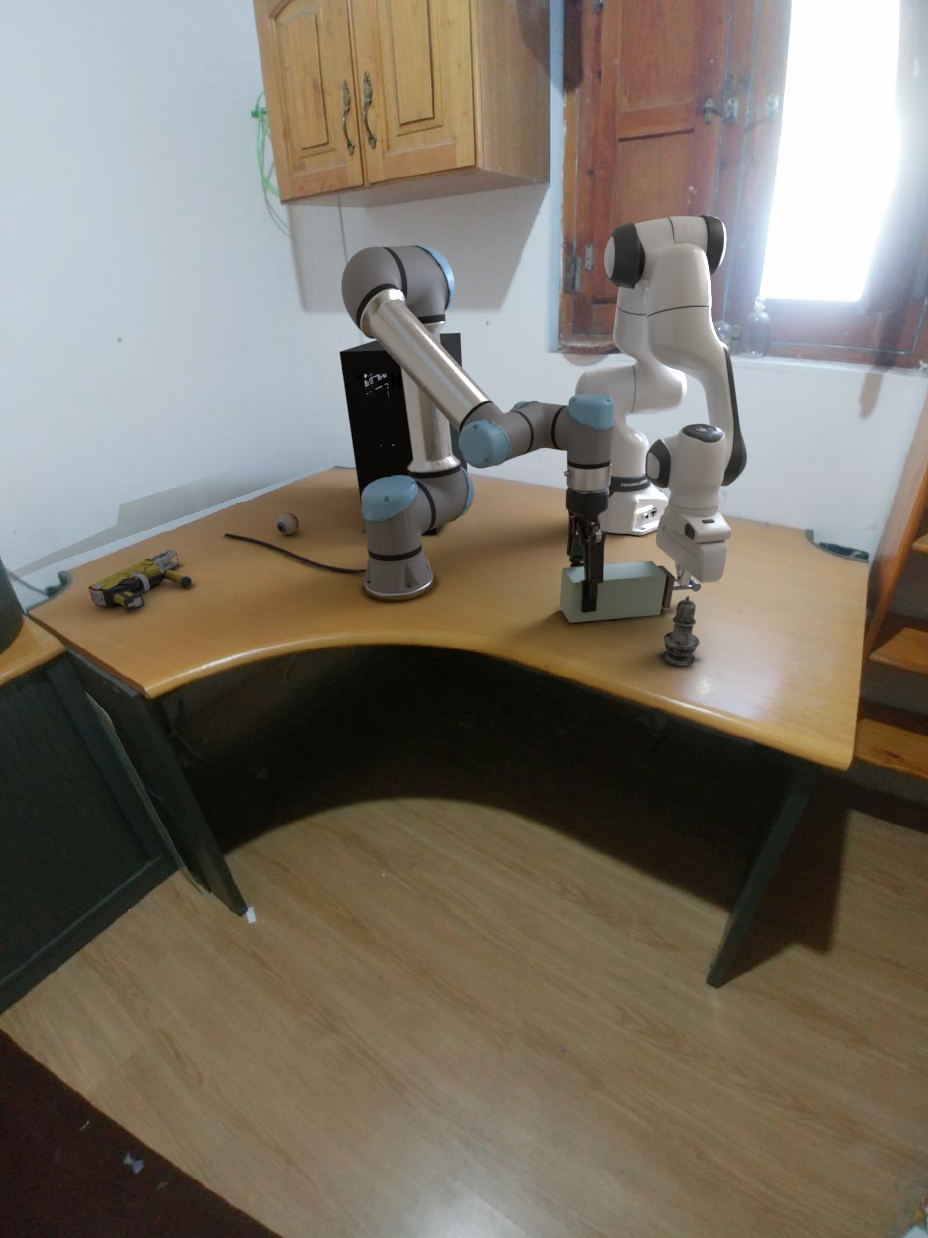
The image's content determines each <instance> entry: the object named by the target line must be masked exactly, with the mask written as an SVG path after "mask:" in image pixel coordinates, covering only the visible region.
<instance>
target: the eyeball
mask: <svg viewBox="0 0 928 1238" xmlns="http://www.w3.org/2000/svg"><path fill="white" fill-rule="evenodd" d="M299 525H300V522H299V519H298V517H297V516H296V515H295V514H294V513H292V512H287V511H286V512H282V513H280V514H279V515H278V516H277V517H276V520H275V527H276V529H277V530H278V531H279V532H280V533H281V534H282V535H285V536H286V535H287V536H289V535H293V534H295V533H296V532H297V531H298V529H299Z"/></svg>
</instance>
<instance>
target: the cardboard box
mask: <svg viewBox="0 0 928 1238" xmlns="http://www.w3.org/2000/svg"><path fill="white" fill-rule="evenodd" d="M440 344H441V345H442V346H443V347H444V349H445V350H446V351H447V352H448V353H449V354H450V355H451V356H452V357H453V359H454V360H455V361H456V362H457V363H458V364H459V365H460V366H461V367H462V368H463V357H462V356H463V355H462V354H463V353H462V336H461V332H447V333H446V332H442V333H441V332H440ZM339 359H340V367H341V372H342V380H343V386H344V387H343V388H344V394H345V395H344V396H345V400H346V408H347V409H346V410H347V415H348V421H349V430H350V436H351V437H350V438H351V444H352V450H353V458H354V463H355V464H354V465H355V470H356V471H355V472H356V477H357V485H358V492H359V498H360V499H359V500H360V506H361V508H362V500H361V496H362V492H363V490H364V489H365V488H366V487H367V486H368V485H369V484H370V483H372V482H374V481H376V480H378V479H381V478H385V477H391V476H396V475H404V476H408V469H407V467H408V465H409V464H410V462H411V461H412V459H413V454H412V447H411V439H410V432H409V425H408V418H407V410H406V403H405V396H404V388H403V381H402V374H401V367H400V365H399V364H398V363H397V362H396V361H395V360H394V359H393V358H392V356H391V355H390V354H389V353H388V352H387V351H386V350H385V349H384V347H383V346H382V345H381V344H380V343H379V342H378V341H377V340H376V339H374V340H373V341H368V342H366V343H363V344H359V345H356V346H354V347H351V348H347V349H343V350H341V351H339ZM449 428H450V438H451V447H452V454H453V455H454V456H455V457H456V458H457V459H459V460H460V466H461V467H462V468H464V469H465V470H466V471H467V472H468V463H467V462H466V461H465V459H464V458H463V454H462V451H461V450H460V448H459V436H460V433H459V432H458V431H457V430H456V429H455V427H454V426H453V425H452V424H451V423H450V422H449ZM362 520H363V522H364V518H363V517H362ZM444 525H445V524H443V525H441V526H438V527H436V528H434V529H431V530H429V531H427V532H424V533H422V534H421V535H438V533H439V532H440V530H441V529H442V528H443V526H444ZM363 528H364V529H365V525H364V524H363Z"/></svg>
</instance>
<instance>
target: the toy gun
mask: <svg viewBox="0 0 928 1238" xmlns="http://www.w3.org/2000/svg"><path fill="white" fill-rule="evenodd" d="M174 558H176V561H172V559H174ZM179 565H180V560H179V554H178V552H177V551H176V550H172V551H171V549H166V550H165V551H163V552H159V554H155V555H154V556H152V557H150V558H145V559H144V560H141V561H138V562H137V563H135V564H133V565H131V566H130V565H129V567H128V566H127V567H126V568H124V569H122V570H120V571H118V572H116V573H113V574H111V575H109V576H107V577H105V578H103V579H100V580H98V581H97V582H94V583H92V584H90V585H88V588H87V589H88V592H89V595H90V600H91V602H92V604H94V605H95V607H99V608H103V607H112V606H117V605H121V606H123V607H124V609H125V612H126V613H128V614H129V613H131V612H133V611H136V610H138V609H140V608H143V607H145V605H146V604H145V600H144V595H143V594H145V593H146V592H149V591H150V589H151V587H152V586H154V585H156V584H159V583H161V582H163V581H164V580H166V581H169V582H171V583H174V584H177V585H181V586H182V588H188V587H190V586H191V585H192V582H193V581H192V578H191V577H190V576H186V575H184V574H181V573H178V572H177V571H174V570H172V569H173V568H175V567H177V566H179Z"/></svg>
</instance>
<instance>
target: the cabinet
mask: <svg viewBox="0 0 928 1238" xmlns="http://www.w3.org/2000/svg"><path fill="white" fill-rule="evenodd" d="M658 566H659V565H657V564H656V563H655V562H654V561H653V560H643V561H630V562H620V563H619V562H617V563H604V577H603V579H604V580H603V583H598V589H597V606H596V611H593V612H585V613H582V611H581V604H582V583H581V580H585V575H584V566H578V567H570V566H565V567H562V571H561V582H560V595H559V596H560V597H559V608H560V609H561V611H562V613H563V614H564V616H565V618H566V620H567V622H568V623H571V624H572V623H582V622H583V623H584V622H594V621H604V620H614V619H615V620H616V619H617V620H618V619H627V618H639V617H651V616H659V615H661V610H662V606H661V605H662V599H663V593H664V587H665V581H666V576H667V575H666V574H665V573H664V572H663V571H662V570H661V569H660V568H659V567H658Z"/></svg>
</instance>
